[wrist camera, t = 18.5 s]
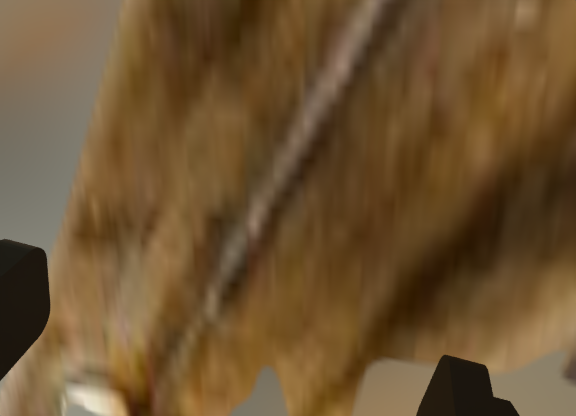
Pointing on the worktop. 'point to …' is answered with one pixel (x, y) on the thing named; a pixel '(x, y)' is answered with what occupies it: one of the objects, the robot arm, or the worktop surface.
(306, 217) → the worktop surface
